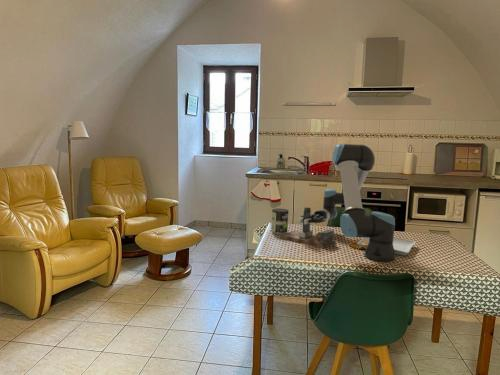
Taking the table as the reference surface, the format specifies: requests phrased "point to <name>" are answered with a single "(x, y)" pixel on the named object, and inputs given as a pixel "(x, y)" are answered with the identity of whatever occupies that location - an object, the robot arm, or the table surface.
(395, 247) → the square plate
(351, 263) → the table surface
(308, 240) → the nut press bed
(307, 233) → the press carriage
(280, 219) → the coffee can
